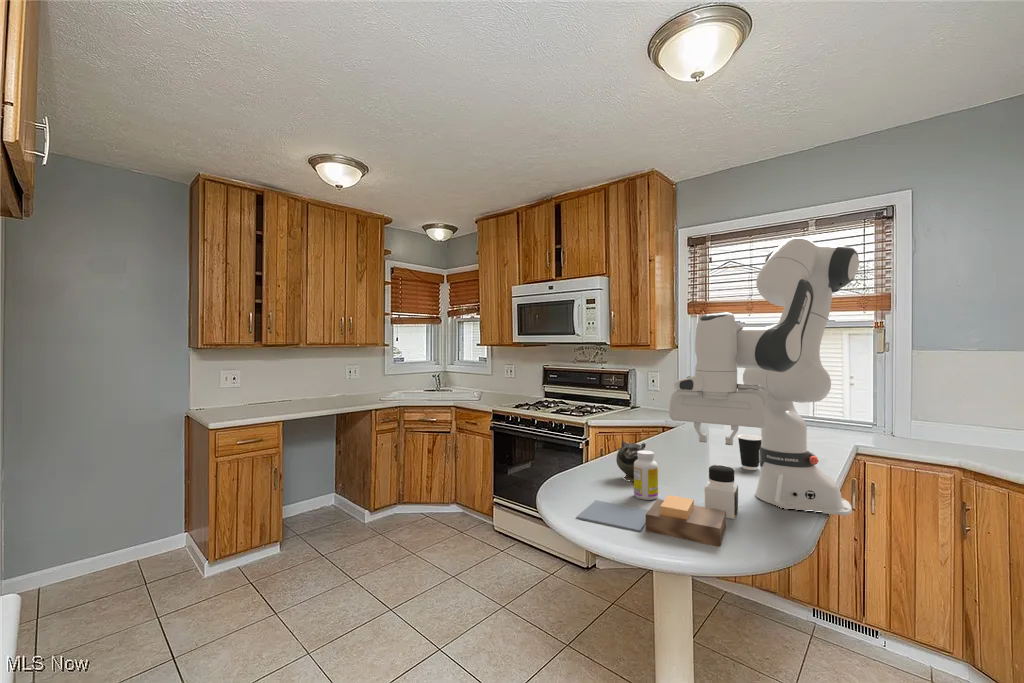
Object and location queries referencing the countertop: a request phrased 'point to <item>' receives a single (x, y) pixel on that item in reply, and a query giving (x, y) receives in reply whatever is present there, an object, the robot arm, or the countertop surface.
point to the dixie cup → (749, 451)
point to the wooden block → (689, 524)
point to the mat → (615, 515)
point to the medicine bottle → (722, 490)
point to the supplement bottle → (645, 476)
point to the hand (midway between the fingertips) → (715, 443)
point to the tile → (677, 507)
